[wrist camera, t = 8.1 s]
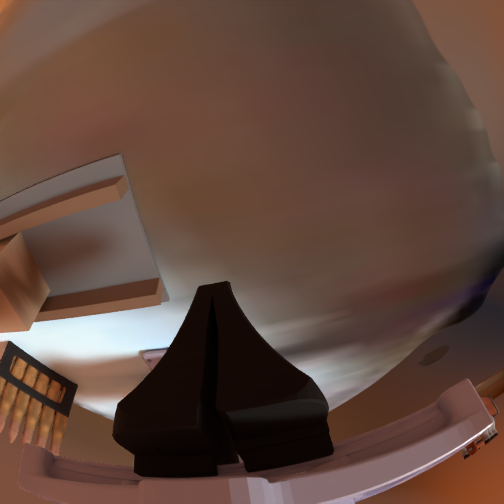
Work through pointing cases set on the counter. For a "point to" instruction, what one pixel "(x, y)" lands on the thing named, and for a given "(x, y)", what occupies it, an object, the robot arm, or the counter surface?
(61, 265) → the bay
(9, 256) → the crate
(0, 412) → the ammunition clip
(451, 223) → the counter surface
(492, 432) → the milk bottle holder
